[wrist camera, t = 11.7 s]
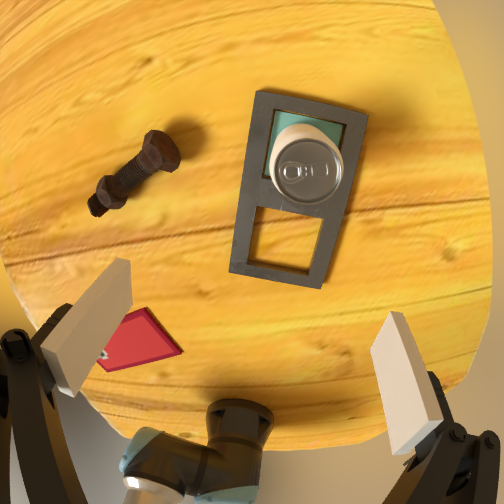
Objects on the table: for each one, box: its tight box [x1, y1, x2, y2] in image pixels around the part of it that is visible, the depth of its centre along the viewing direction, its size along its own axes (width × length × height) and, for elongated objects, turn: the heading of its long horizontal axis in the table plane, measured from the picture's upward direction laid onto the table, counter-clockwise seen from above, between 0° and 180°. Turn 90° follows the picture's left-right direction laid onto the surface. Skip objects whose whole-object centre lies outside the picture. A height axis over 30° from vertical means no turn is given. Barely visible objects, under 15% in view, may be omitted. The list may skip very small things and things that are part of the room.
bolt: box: [87, 130, 181, 217], centre depth 36 cm, size 6×5×15 cm
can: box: [269, 123, 343, 205], centre depth 29 cm, size 6×6×12 cm
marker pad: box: [264, 111, 343, 176], centre depth 34 cm, size 8×8×1 cm
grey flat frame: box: [229, 91, 369, 289], centre depth 37 cm, size 24×13×1 cm, turn 171°
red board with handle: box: [96, 307, 182, 372], centre depth 54 cm, size 30×3×15 cm
